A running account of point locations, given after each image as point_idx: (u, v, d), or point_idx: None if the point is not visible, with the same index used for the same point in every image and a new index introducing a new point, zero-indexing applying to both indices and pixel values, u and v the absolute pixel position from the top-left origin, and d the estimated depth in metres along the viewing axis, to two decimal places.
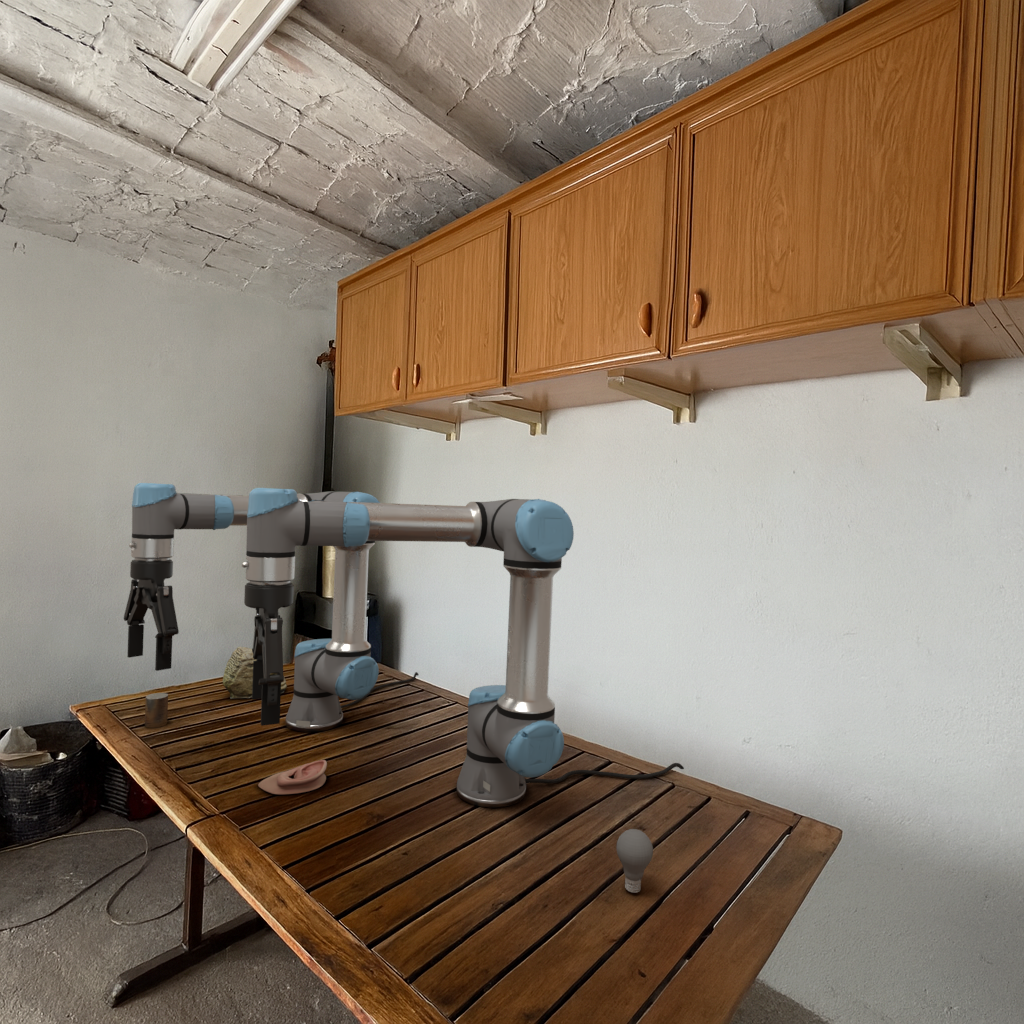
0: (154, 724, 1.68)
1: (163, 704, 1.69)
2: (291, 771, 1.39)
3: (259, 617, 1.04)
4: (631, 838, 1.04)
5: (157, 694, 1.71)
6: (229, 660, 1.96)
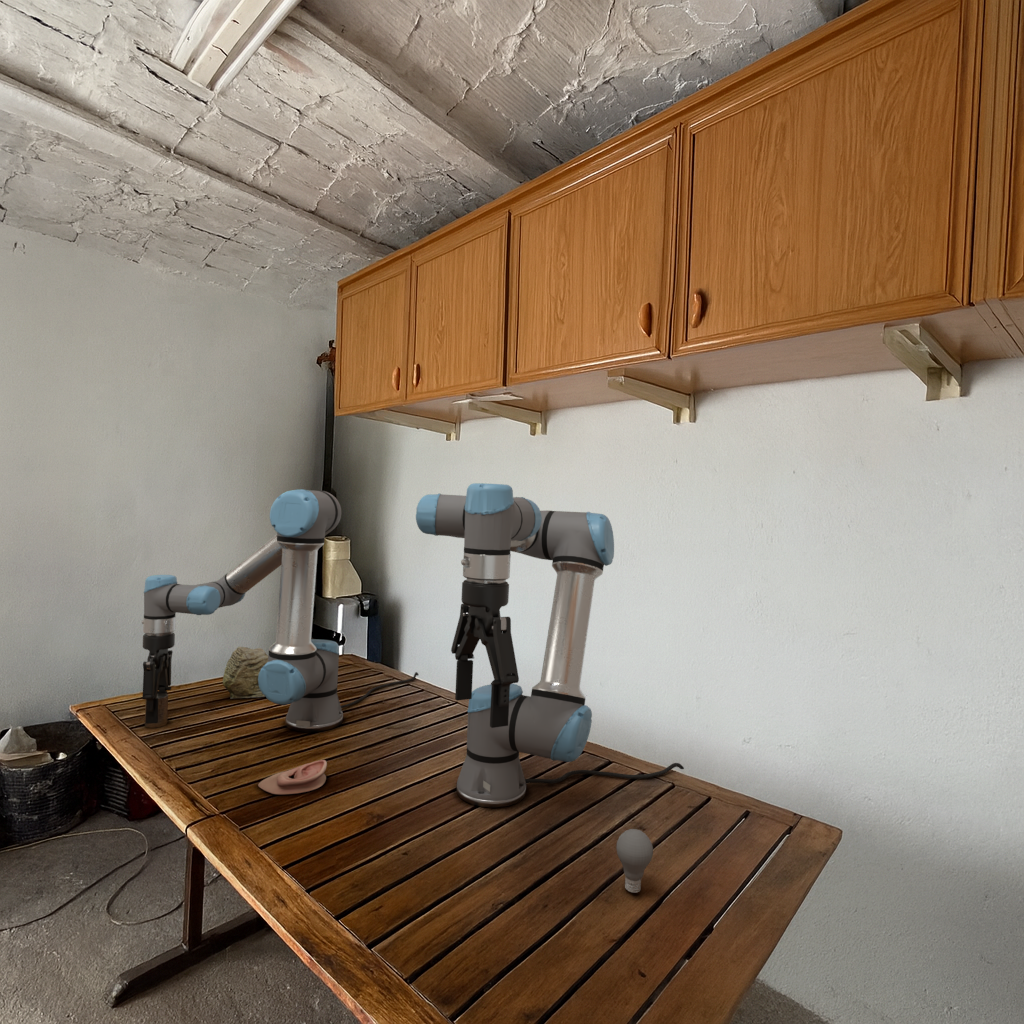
0: (154, 724, 1.68)
1: (163, 704, 1.69)
2: (291, 771, 1.39)
3: (474, 616, 1.01)
4: (631, 838, 1.04)
5: (157, 694, 1.71)
6: (229, 660, 1.96)
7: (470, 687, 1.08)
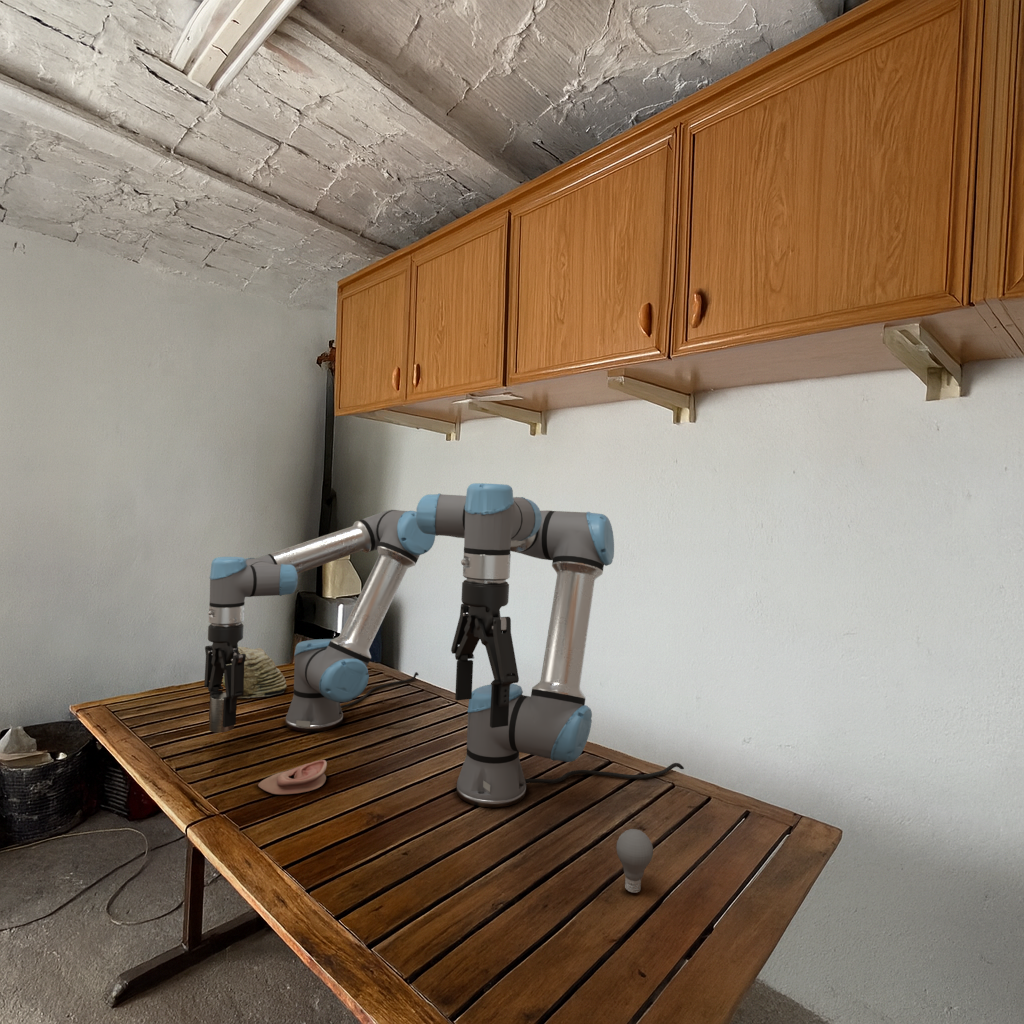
0: (230, 726, 1.47)
1: None
2: (291, 771, 1.39)
3: (474, 616, 1.01)
4: (631, 838, 1.04)
5: (220, 695, 1.48)
6: None
7: (470, 687, 1.08)
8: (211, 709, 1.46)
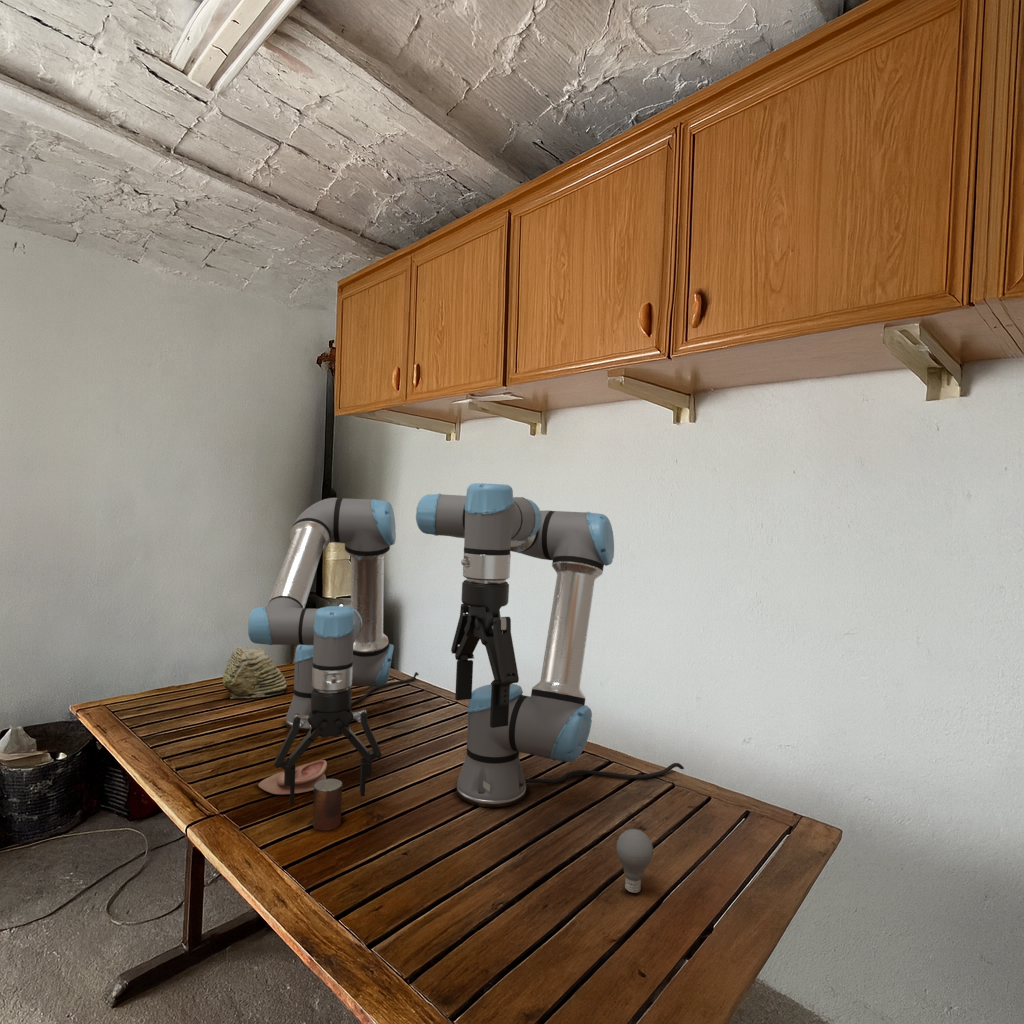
0: None
1: None
2: None
3: (474, 616, 1.01)
4: (631, 838, 1.04)
5: (324, 785, 1.22)
6: (229, 660, 1.96)
7: (470, 687, 1.08)
8: (328, 804, 1.20)
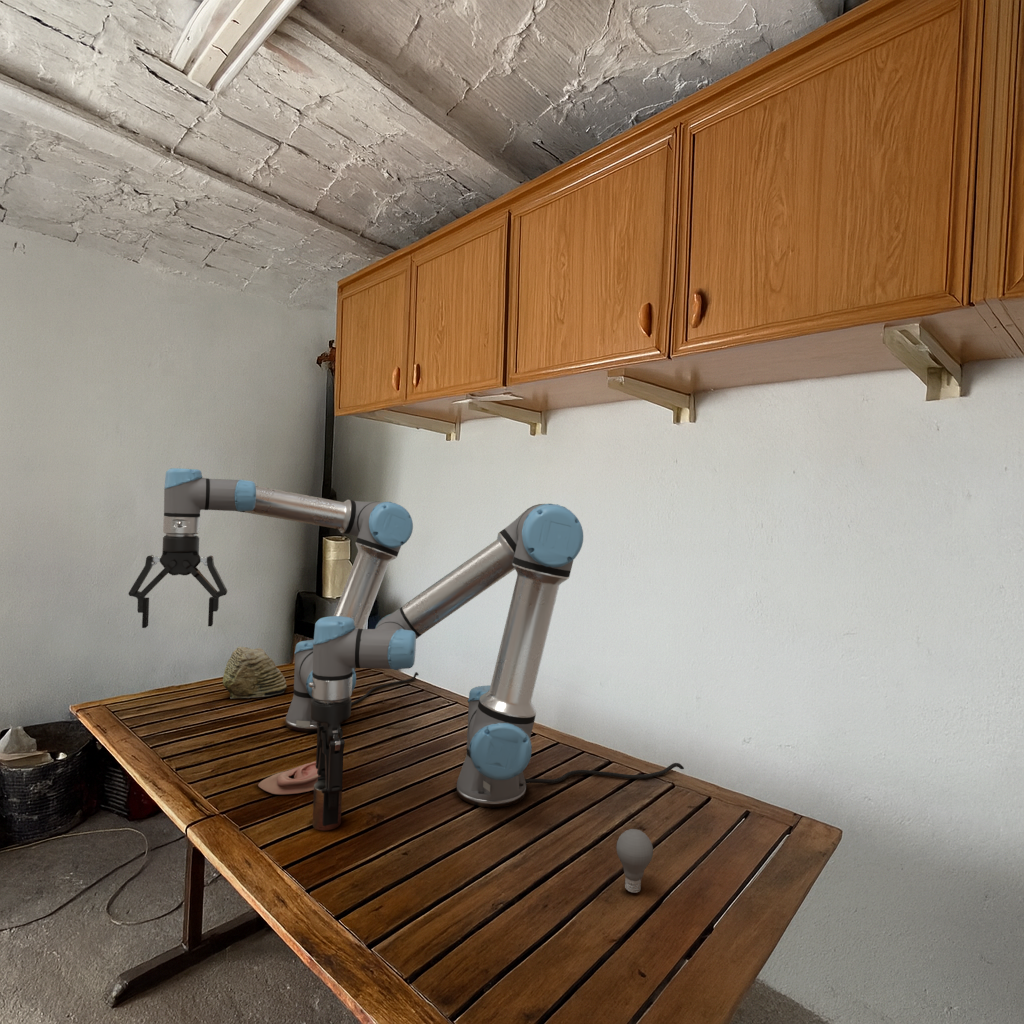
0: None
1: None
2: (291, 771, 1.39)
3: (322, 727, 1.23)
4: (631, 838, 1.04)
5: (324, 785, 1.22)
6: (229, 660, 1.96)
7: None
8: None
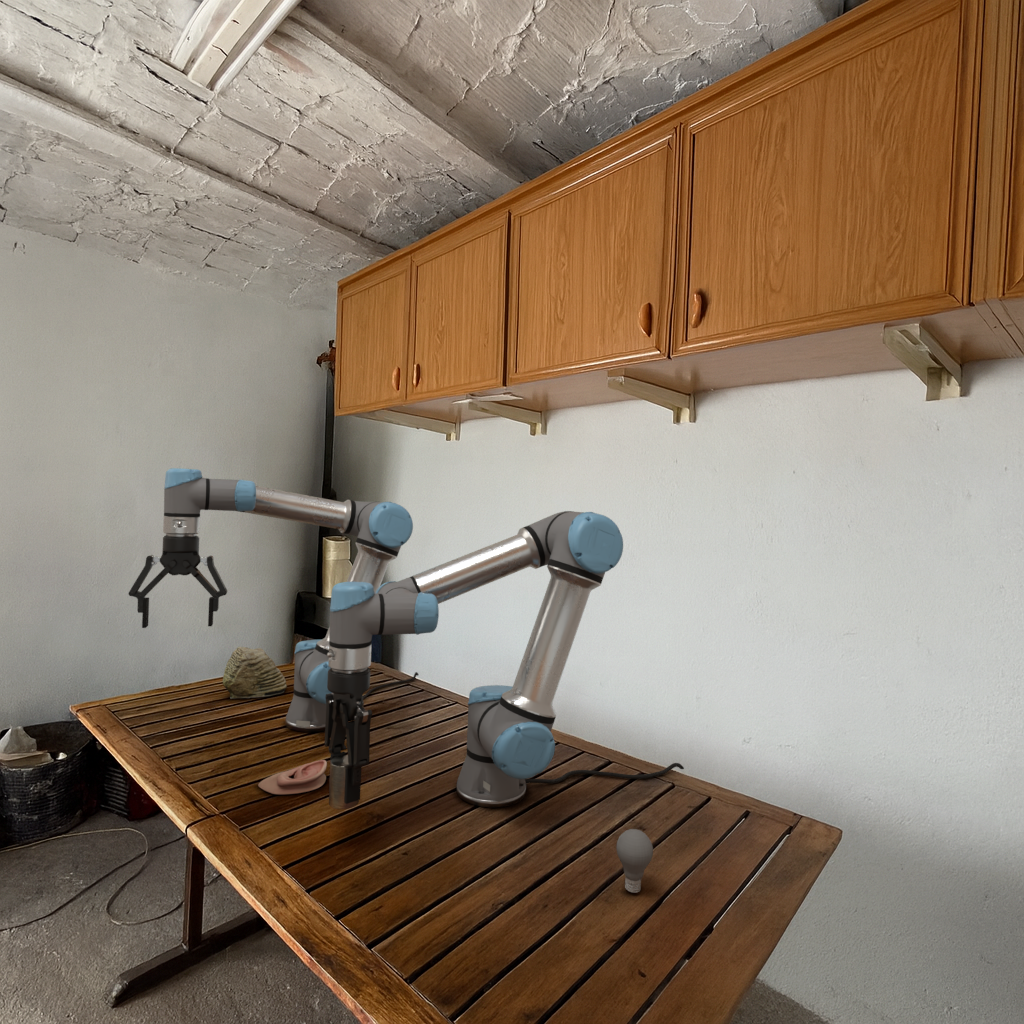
0: None
1: None
2: (291, 771, 1.39)
3: (339, 700, 1.15)
4: (631, 838, 1.04)
5: (341, 761, 1.15)
6: (229, 660, 1.96)
7: None
8: None
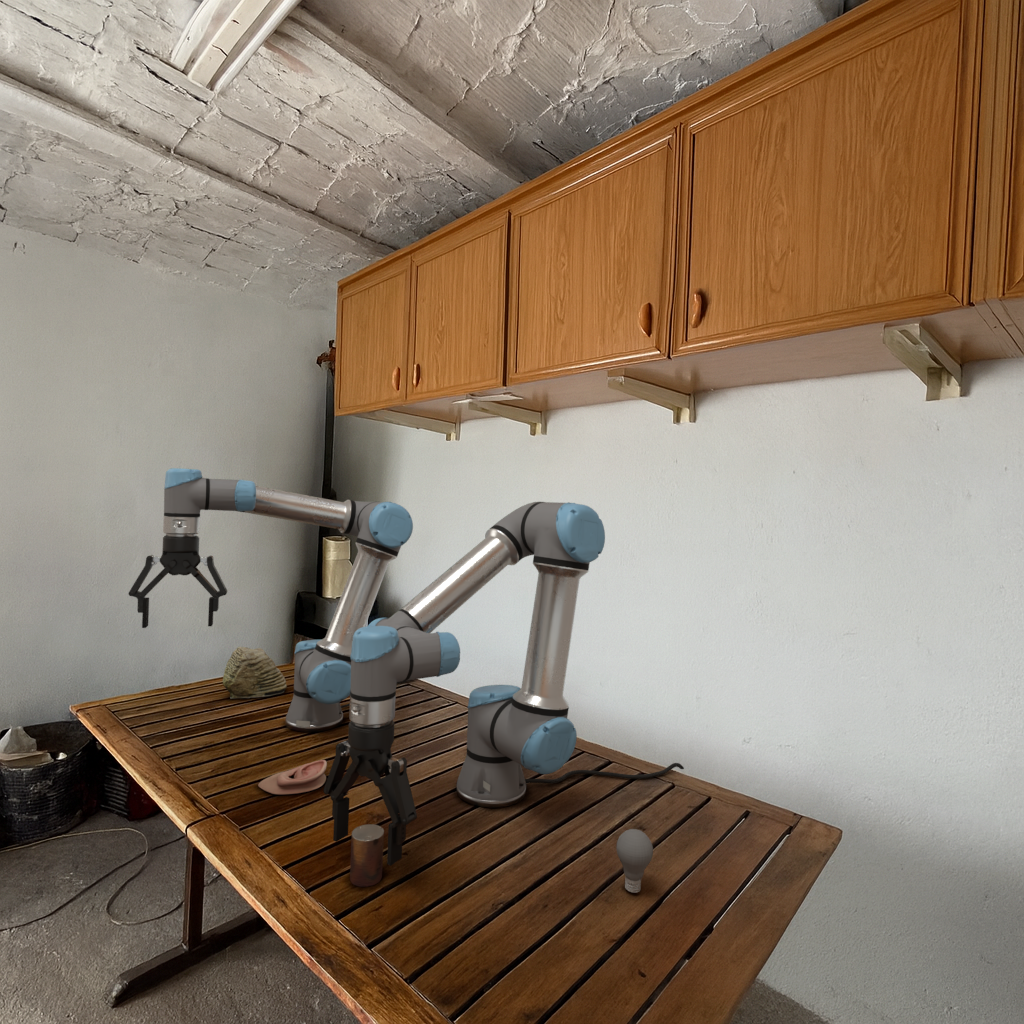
0: None
1: None
2: (291, 771, 1.39)
3: (361, 757, 1.05)
4: (631, 838, 1.04)
5: (364, 834, 1.05)
6: (229, 660, 1.96)
7: (347, 824, 1.10)
8: (376, 853, 1.05)
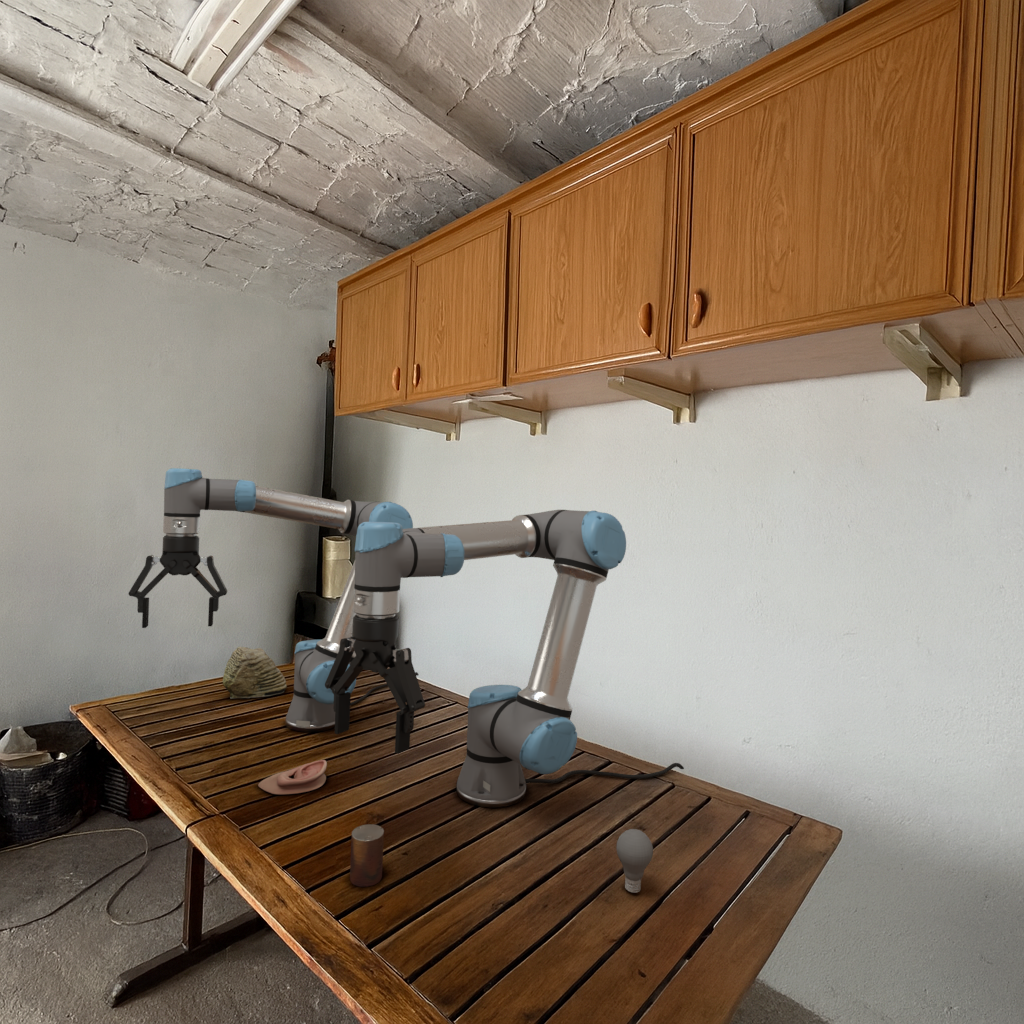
0: None
1: None
2: (291, 771, 1.39)
3: (365, 650, 1.05)
4: (631, 838, 1.04)
5: (364, 834, 1.05)
6: (229, 660, 1.96)
7: (348, 719, 1.10)
8: (376, 853, 1.05)
